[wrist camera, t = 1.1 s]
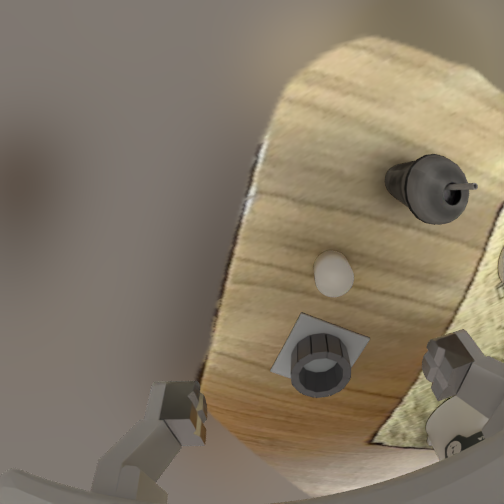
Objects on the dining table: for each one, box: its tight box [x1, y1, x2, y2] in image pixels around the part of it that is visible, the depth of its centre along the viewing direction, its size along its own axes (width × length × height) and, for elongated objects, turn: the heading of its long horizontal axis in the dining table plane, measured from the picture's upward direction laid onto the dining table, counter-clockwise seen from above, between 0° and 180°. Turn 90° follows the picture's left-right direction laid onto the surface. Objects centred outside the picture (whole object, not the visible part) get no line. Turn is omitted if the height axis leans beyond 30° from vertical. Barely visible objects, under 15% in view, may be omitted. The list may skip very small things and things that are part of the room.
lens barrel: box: [270, 312, 370, 398], centre depth 44 cm, size 12×12×5 cm
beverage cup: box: [385, 154, 478, 225], centre depth 28 cm, size 7×7×20 cm
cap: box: [313, 250, 354, 297], centre depth 40 cm, size 5×5×4 cm
